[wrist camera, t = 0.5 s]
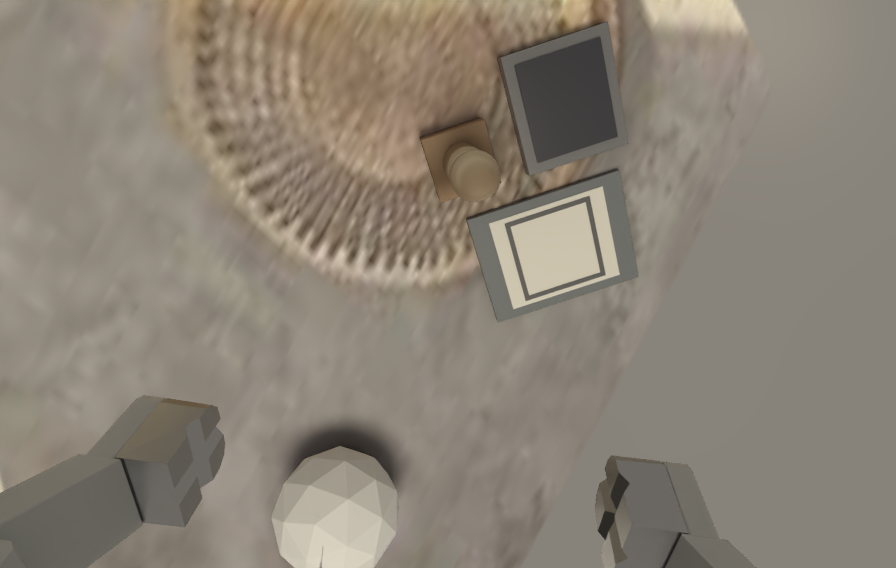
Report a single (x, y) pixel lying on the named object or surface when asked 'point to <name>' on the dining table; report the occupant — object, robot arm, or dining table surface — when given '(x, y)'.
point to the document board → (555, 245)
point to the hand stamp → (462, 162)
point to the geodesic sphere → (336, 511)
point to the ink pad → (564, 99)
